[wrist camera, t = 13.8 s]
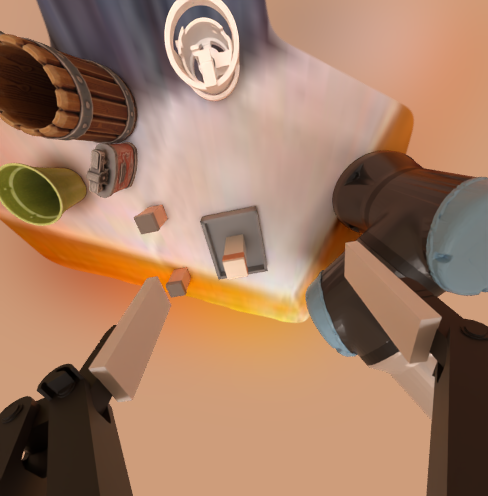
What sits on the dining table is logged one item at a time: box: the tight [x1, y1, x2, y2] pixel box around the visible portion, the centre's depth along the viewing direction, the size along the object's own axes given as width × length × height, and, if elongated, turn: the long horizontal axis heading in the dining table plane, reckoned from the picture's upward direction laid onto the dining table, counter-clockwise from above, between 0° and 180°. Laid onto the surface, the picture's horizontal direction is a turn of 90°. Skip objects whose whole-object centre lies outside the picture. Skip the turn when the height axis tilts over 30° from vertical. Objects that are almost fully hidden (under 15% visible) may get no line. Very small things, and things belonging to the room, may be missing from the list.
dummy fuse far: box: [166, 267, 191, 297], centre depth 47 cm, size 3×3×6 cm
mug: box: [0, 31, 136, 144], centre depth 27 cm, size 16×11×15 cm
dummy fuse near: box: [134, 205, 168, 234], centre depth 40 cm, size 3×3×6 cm
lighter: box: [87, 142, 137, 198], centre depth 34 cm, size 8×3×10 cm, turn 158°
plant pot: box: [0, 163, 86, 226], centre depth 36 cm, size 9×9×9 cm
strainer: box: [165, 0, 239, 101], centre depth 26 cm, size 7×7×15 cm
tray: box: [200, 206, 268, 279], centre depth 44 cm, size 11×14×3 cm
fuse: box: [222, 234, 248, 280], centre depth 41 cm, size 4×4×10 cm
